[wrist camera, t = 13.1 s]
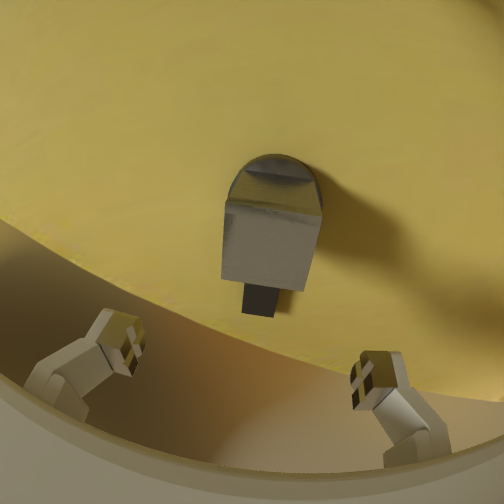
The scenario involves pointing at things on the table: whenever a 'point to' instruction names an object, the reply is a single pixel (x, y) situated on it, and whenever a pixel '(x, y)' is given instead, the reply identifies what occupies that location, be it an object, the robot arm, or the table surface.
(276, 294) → the ratchet
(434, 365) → the table surface
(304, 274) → the socket
